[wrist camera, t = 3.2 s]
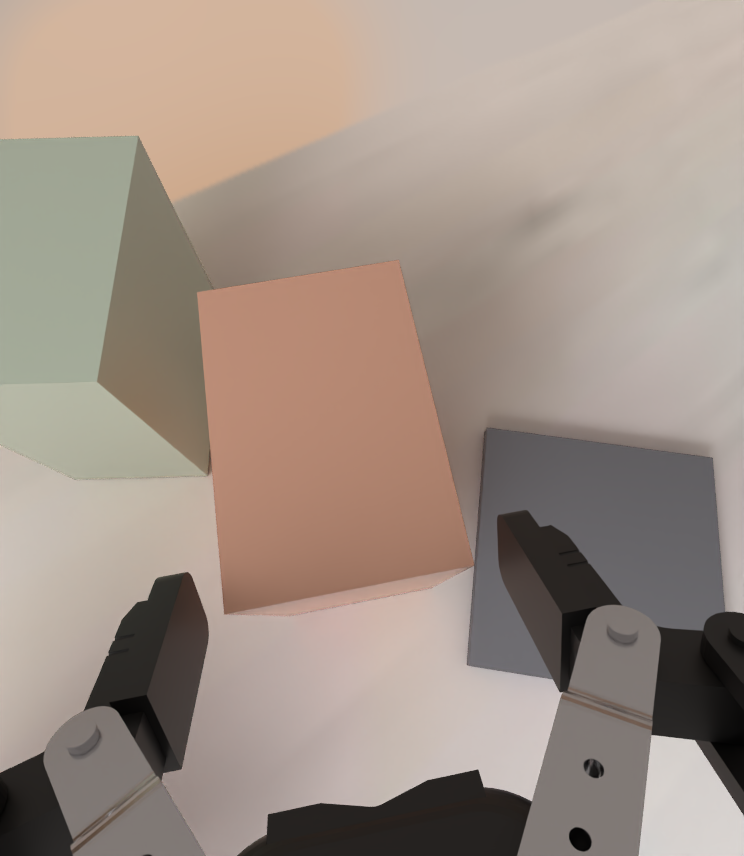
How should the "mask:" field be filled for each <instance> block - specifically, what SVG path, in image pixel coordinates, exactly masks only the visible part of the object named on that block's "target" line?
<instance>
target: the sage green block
mask: <svg viewBox="0 0 744 856" xmlns="http://www.w3.org/2000/svg"><path fill="white" fill-rule="evenodd" d="M207 290H214V289H213V287H212V285H211V283H210V281H209V279H208V277H207V275H206V273H205V271H204V269H203V266H202V264H201V262H200V260H199V258H198V256H197V254H196V252H195V250H194V248H193V246H192V244H191V242H190V240H189V238H188V236H187V234H186V232H185V230H184V228H183V226H182V224H181V222H180V220H179V218H178V216H177V214H176V212H175V209H174V207H173V205H172V203H171V201H170V199H169V197H168V195H167V193H166V191H165V189H164V187H163V185H162V183H161V181H160V179H159V177H158V175H157V173H156V171H155V169H154V167H153V165H152V163H151V161H150V159H149V157H148V155H147V152H146V151H145V148H144V147H143V144H142V142H141V140H140V138H139V136H113V137H112V136H111V137H74V138H39V139H38V138H36V139H0V445H1V446H3V447H5V448H7V449H9V450H12V451H14V452H16V453H18V454H20V455H23V456H25V457H27V458H29V459H31V460H33V461H36V462H38V463H40V464H42V465H44V466H46V467H49V468H51V469H53V470H55V471H57V472H59V473H62V474H64V475H66V476H68V477H70V478H72V479H75V480H84V479H118V478H152V477H186V476H208V466H209V454H210V439H209V428H208V416H207V404H206V392H205V380H204V369H203V357H202V345H201V333H200V322H199V310H198V298H197V292H201V291H207Z"/></svg>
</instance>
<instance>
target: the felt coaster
mask: <svg viewBox="0 0 744 856" xmlns="http://www.w3.org/2000/svg"><path fill="white" fill-rule="evenodd" d="M522 510H527V511H529V513H530V514H531V515H532V517H533V518H534V519H535V521H536V522H537V524H538V525H539V527H543V526H549V525H552V526H554V527H555V528H557V529H558V530H560V531H562V532H563V533H565V534H566V535H568V536H569V537H570V539H571V540H572V541H573V542H574V544H575V545H576V546H577V548H578V549H579V552H581V553H582V554H583V555H584V557H585V558H586V559H587V560H588V564H591V566H592V567H593V568H594V569H595V571H596V572H597V573H598V575H599V576H600V577H601V579H602V580H603V581H604V582H605V584H606V585H607V586H608V588H609V589H610V590H611V591H612V593H613V594H614V595H615V597H616V598H617V599H618V600H619V602H620V603H621V604H622V606H626V607H630V608H633V609H635V610H637V611H639V612H641V613H643V614H645V615H646V616H647V617H649V618H650V619H651V620H652V621H653V622H654V623H655V625H656V626H659V627H664V628H672V629H687V630H701V631H703V628H704V624H705V622H706V620H707V619H708V618H709V617H710V616H712V615H714V614H717V613H721V612H725V605H724V593H723V580H722V568H721V555H720V543H719V531H718V518H717V506H716V493H715V481H714V469H713V458H710V457H703V456H695V455H688V454H680V453H673V452H666V451H658V450H651V449H643V448H636V447H628V446H621V445H613V444H606V443H599V442H591V441H584V440H576V439H569V438H561V437H554V436H546V435H539V434H532V433H524V432H517V431H509V430H502V429H494V428H487V429H486V431H485V434H484V447H483V460H482V473H481V486H480V499H479V512H478V525H477V538H476V551H475V564H474V577H473V590H472V603H471V616H470V629H469V642H468V655H467V665H469V666H473V667H480V668H486V669H492V670H498V671H505V672H511V673H517V674H523V675H530V676H536V677H542V678H548V679H553V678H552V676H551V674H550V672H549V670H548V668H547V666H546V664H545V663H544V661H543V659H542V657H541V655H540V653H539V651H538V649H537V647H536V645H535V643H534V641H533V639H532V637H531V635H530V633H529V631H528V630H527V628H526V626H525V624H524V622H523V620H522V618H521V616H520V614H519V612H518V610H517V608H516V606H515V604H514V602H513V600H512V599H511V597H510V595H509V593H508V591H507V589H506V587H505V585H504V582H503V580H502V577H501V573H500V569H499V561H498V537H497V517H498V515H500V514H506V513H511V512H516V511H522Z"/></svg>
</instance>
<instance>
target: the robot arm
mask: <svg viewBox="0 0 744 856" xmlns="http://www.w3.org/2000/svg"><path fill="white" fill-rule="evenodd" d="M497 537H498V561H499V569H500V573H501V577H502V580H503V582H504V585H505V587H506V589H507V591H508V593H509V595H510V597H511V599H512V600H513V602H514V604H515V606H516V608H517V610H518V612H519V614H520V616H521V618H522V620H523V622H524V624H525V626H526V628H527V630H528V631H529V633H530V635H531V637H532V639H533V641H534V643H535V645H536V647H537V649H538V651H539V653H540V655H541V657H542V659H543V661H544V663H545V664H546V666H547V668H548V670H549V672H550V674H551V676H552V678H553V680H554V682H555V684H556V686H557V688H558V690H559V692H563V693H562V695H561V698H560V702H559V705H558V709H557V713H556V716H555V720H554V724H553V727H552V731H551V734H550V738H549V742H548V745H547V749H546V753H545V756H544V760H543V764H542V767H541V771H540V775H539V778H538V782H537V785H536V789H535V793H534V796H533V800H532V801H530V800H528V799H526V798H524V797H521V796H519V795H516V794H514V793H511V792H508V791H504V790H499V789H495V788H486V787H483V784H482V780H481V777H480V774H479V771H478V770H474V771H469V772H464V773H460V774H455V775H450V776H446V777H441V778H436V779H432V780H427V781H425V782H424V783H422V784H420V785H418V786H416V787H414V788H412V789H410V790H408V791H406V792H404V793H403V794H401V795H399V796H397V797H395V798H393V799H391V800H389V801H387V802H385V803H384V804H382V805H379V806H376V807H364V806H350V805H337V804H323V803H320V804H315V805H310V806H306V807H301V808H296V809H292V810H287V811H282V812H278V813H273V814H268V825H267V835H265V836H264V837H262V838H260V839H258V840H257V841H255V842H254V843H252V844H251V845H250V846H248V847H247V848H246V849H244V850H243V851H242V852H241V853H240V854H238V855H237V856H638V854H639V845H640V836H641V826H642V817H643V808H644V798H645V789H646V780H647V770H648V761H649V752H650V743H651V735H658V736H666V737H675V738H683V739H692V740H695V741H696V742H697V744H698V745H699V747H700V749H701V750H702V752H703V753H704V755H705V756H706V758H707V759H708V761H709V762H710V764H711V765H712V767H713V769H714V770H715V772H716V773H717V775H718V776H719V778H720V779H721V781H722V782H723V784H724V786H725V787H726V789H727V790H728V792H729V793H730V795H731V796H732V798H733V799H734V801H735V803H736V804H737V806H738V807H739V809H740V810H741V812H742V813H743V815H744V614H743V613H737V612H721V613H717V614H714V615H712V616H710V617H709V618H708V619H707V620H706V622H705V624H704V628H703V631H701V630H687V629H672V628H664V627H659V626H656V625H655V623H654V622H653V621H652V620H651V619H650V618H649V617H647V616H646V615H645V614H643V613H641V612H639V611H637V610H635V609H633V608H630V607H626V606H622V604H621V603H620V602H619V600H618V599H617V598H616V597H615V595H614V594H613V593H612V591H611V590H610V589H609V588H608V586H607V585H606V584H605V582H604V581H603V580H602V579H601V577H600V576H599V575H598V573H597V572H596V571H595V569H594V568H593V567H592V566H591V564H588V560H587V559H586V558H585V557H584V555H583V554H582V553H581V552H579V549H578V548H577V546H576V545H575V544H574V542H573V541H572V540H571V539H570V537H569V536H568V535H566V534H565V533H563V532H562V531H560V530H558V529H557V528H555V527H554V526H552V525H549V526H543V527H539V525H538V524H537V522H536V521H535V519H534V518H533V517H532V515H531V514H530V513H529V511H527V510H522V511H516V512H511V513H506V514H500V515H498V517H497ZM208 636H209V631H208V622H207V618H206V614H205V612H204V609H203V606H202V603H201V601H200V598H199V595H198V592H197V590H196V587H195V584H194V581H193V579H192V576H191V575H190V573H188V572H185V573H180V574H175V575H169V576H164V577H159V578H157V579H156V580H155V582H154V584H153V587H152V590H151V592H150V595H149V598H148V600H147V601H142V602H137V603H136V604H135V606H134V607H133V608H132V609H131V610H130V611H129V612H128V614H127V615H126V616H125V617H124V618H123V619H122V621H121V624H120V626H119V628H118V631H117V633H116V636H115V641H113V643H112V645H111V647H110V650H109V652H108V653H109V656H107V657H106V659H105V662H104V664H103V666H102V669H101V671H100V674H99V676H98V678H97V681H96V683H95V685H94V688H93V690H92V693H91V695H90V697H89V700H88V702H87V704H86V707H85V709H84V711H83V712H81V713H79V714H77V715H76V716H74V717H72V718H71V719H70V720H68V721H67V722H66V723H65V724H64V725H63V726H61V727H60V728H59V730H58V731H57V732H56V733H55V734H54V736H53V737H52V738H51V740H50V741H49V743H48V745H47V747H46V750H45V752H43V753H41V754H39V755H37V756H35V757H33V758H31V759H29V760H27V761H25V762H22V763H20V764H18V765H16V766H14V767H12V768H10V769H8V770H6V771H3V772H1V773H0V856H206V855H205V854H204V852H203V850H202V849H201V847H200V845H199V844H198V842H197V840H196V839H195V837H194V835H193V834H192V832H191V830H190V829H189V827H188V825H187V824H186V822H185V820H184V819H183V817H182V815H181V814H180V812H179V810H178V809H177V807H176V805H175V804H174V802H173V800H172V799H171V797H170V795H169V794H168V792H167V790H166V789H165V787H164V785H163V784H162V782H161V779H162V775H163V773H166V772H170V771H175V770H180V769H182V764H183V760H184V755H185V750H186V745H187V740H188V736H189V731H190V726H191V721H192V716H193V712H194V707H195V702H196V697H197V693H198V688H199V683H200V678H201V673H202V669H203V664H204V659H205V654H206V649H207V645H208Z"/></svg>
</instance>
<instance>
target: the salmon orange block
mask: <svg viewBox="0 0 744 856" xmlns="http://www.w3.org/2000/svg"><path fill="white" fill-rule="evenodd" d="M197 298H198V310H199V322H200V333H201V345H202V357H203V369H204V380H205V392H206V404H207V416H208V428H209V439H210V451H211V463H212V475H213V487H214V498H215V510H216V522H217V534H218V546H219V557H220V569H221V581H222V593H223V604H224V614H226V615H270V616H293V615H298V614H303V613H308V612H313V611H318V610H323V609H328V608H333V607H338V606H343V605H348V604H353V603H358V602H363V601H368V600H373V599H378V598H383V597H389V596H394V595H399V594H404V593H409V592H414V591H419V590H424V589H429V588H433V587H434V586H436V585H438V584H440V583H442V582H444V581H446V580H448V579H450V578H451V577H453V576H455V575H457V574H459V573H461V572H463V571H465V570H467V569H469V568H470V567H472V566H474V561H473V557H472V553H471V549H470V545H469V541H468V537H467V533H466V529H465V525H464V521H463V517H462V513H461V509H460V505H459V501H458V497H457V493H456V489H455V485H454V481H453V477H452V473H451V469H450V465H449V461H448V457H447V453H446V449H445V445H444V441H443V437H442V433H441V429H440V425H439V421H438V416H437V412H436V408H435V404H434V400H433V396H432V392H431V388H430V384H429V380H428V376H427V372H426V368H425V364H424V360H423V356H422V352H421V348H420V344H419V340H418V336H417V332H416V328H415V324H414V320H413V316H412V312H411V308H410V304H409V300H408V296H407V292H406V288H405V284H404V280H403V276H402V272H401V267H400V263H399V260H395V261H389V262H383V263H376V264H370V265H364V266H358V267H351V268H345V269H339V270H333V271H326V272H320V273H314V274H308V275H301V276H295V277H289V278H283V279H276V280H270V281H264V282H258V283H251V284H245V285H239V286H233V287H226V288H220V289H214V290H207V291H201V292H197Z"/></svg>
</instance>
